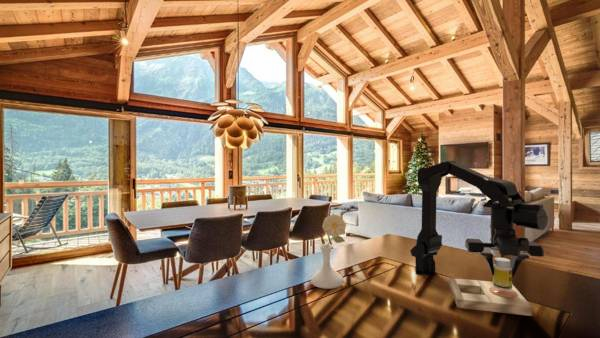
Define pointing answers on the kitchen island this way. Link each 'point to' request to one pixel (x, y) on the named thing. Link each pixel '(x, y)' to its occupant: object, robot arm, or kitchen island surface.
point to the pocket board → (486, 298)
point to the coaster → (503, 292)
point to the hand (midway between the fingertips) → (502, 275)
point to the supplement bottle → (502, 274)
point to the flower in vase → (326, 274)
